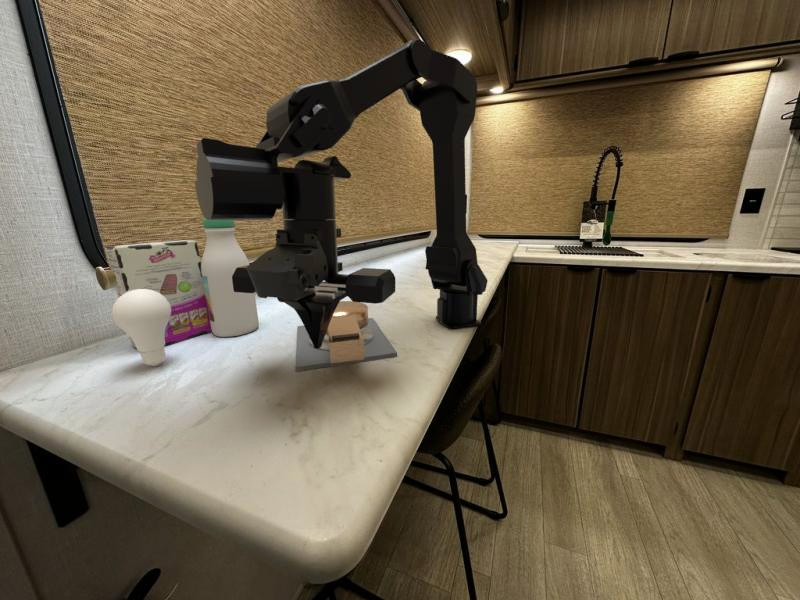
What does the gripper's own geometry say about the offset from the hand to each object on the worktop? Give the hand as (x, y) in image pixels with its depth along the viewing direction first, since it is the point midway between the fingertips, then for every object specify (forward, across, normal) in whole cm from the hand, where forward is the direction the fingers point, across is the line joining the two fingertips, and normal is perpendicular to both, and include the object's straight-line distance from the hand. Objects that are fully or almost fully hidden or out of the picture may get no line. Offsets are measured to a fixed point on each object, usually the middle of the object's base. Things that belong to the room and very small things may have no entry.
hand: (318, 347), depth 39 cm
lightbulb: (+5, -24, -2) cm, 25 cm away
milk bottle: (+5, -24, +12) cm, 27 cm away
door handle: (+1, 0, +7) cm, 7 cm away
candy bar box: (+5, -31, +6) cm, 32 cm away
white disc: (+4, -2, +11) cm, 12 cm away
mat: (+4, -2, +11) cm, 12 cm away
